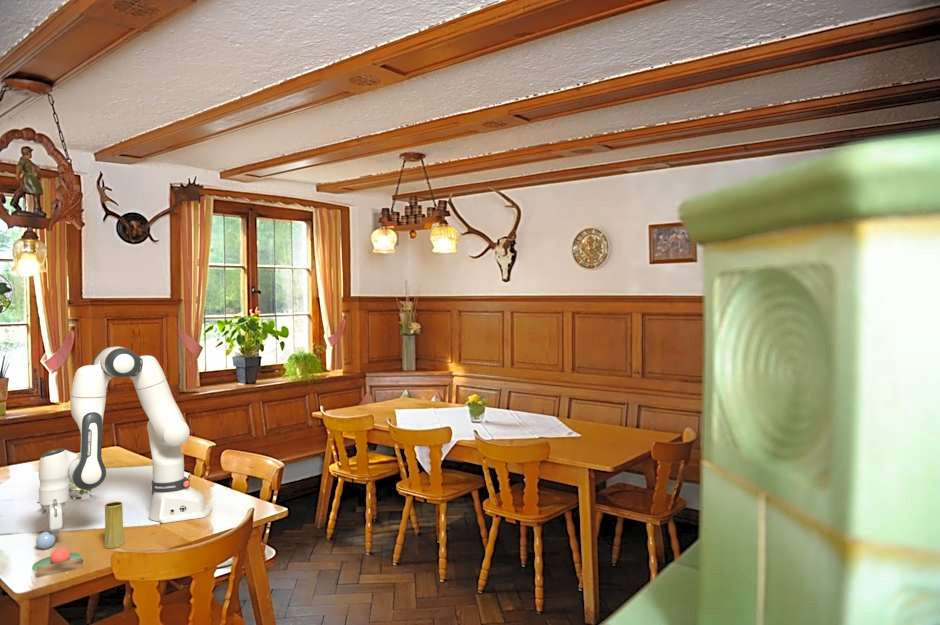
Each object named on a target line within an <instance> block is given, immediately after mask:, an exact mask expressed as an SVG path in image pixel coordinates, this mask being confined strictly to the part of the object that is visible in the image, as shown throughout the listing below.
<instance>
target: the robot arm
mask: <svg viewBox="0 0 940 625" xmlns="http://www.w3.org/2000/svg"><path fill="white" fill-rule="evenodd" d="M113 378H130V379H131V381H132V383H133V385H134V389H135V391H136V392H135V393H136V394H137V397H138V400H139V402H140V405H141V407H142V409H143V411H144V412H145V414H146V416H147V417H148V419H149V420H148V421H147V424H146V429H147V433H148V439H149V440H148V441H149V448H150V452H151V453H150V454H151V459H152V480H151V490H150V491H151V495H152V498H151V499H152V500H151V506H150V511H149V515H148V519H149V520H151V521H153V522H154V521H155V522H158V523H160V524H164V523H173V522H180V521H188V520H197V519H202V518H203V519H204V518H205V517H207V516H209V515H210V514H211V513H212V511H213V507H212V505H211V504H209V503H208V504H207V503H206V499H205V496H204V494H203V493H202V492H200V491H199V490H197V489H195V488H194V487H192V486H191V478H190V477H187V476H185V459H184V458H185V457H184V454H183V450H182V445H183V444H185V443H186V442H187V441H188V439H189V437H190V431H191V430H190V427H189V425H188V423H187V422H186V420H185V418H184V416H183V414H182V412H181V410H180V407H179V406H178V404H177V402H176V400H175V398H174V395H173V394H172V390H171V388H170V385H169V383H168V380H167V377H166V375H165V372H164V370H163V368H162V367H161V364H160V363H159V361H158V360H157V358H156V357H155V356H153V355H150V354H149V355H140V356H139V355H138V354H136V353H135V352H134V351H132V350H131V349H129V348H126V347H123V346H107V347H105V348H103V349H101V350H100V351H99V352H98V354H97V355H96V356H95V357H94V359H93V360H92V362H91V363H90V364H88V365H86V364H85V365H82V366H81V367H79V368H77V370H76V371H75V373H74V377H73V380H72V385H71V390H70V401H69V403H70V406H69V407H70V413H71V414H70V415H71V417H72V418H73V420H74V421H75V422H76V424H77V426H78V429H79V432H80V450H79V451H80V453H76V452H72V451H70V450H68V449H65V448H55V449H51V450H47V451H46V452H44V453H43V454H42V455H41V457H40V458H39V465H38V480H39V483H40V484H39V487H38V502H39V503H38V504H39V505H40V504H41V505H44V508H45V509H46V511H47V512H46V516H47V522H48V526H49V532H52V533H53V534H54V535H55V538H57V537H59V530H62V529H63V526H64V525H63V524H64V523H63V508H62V507H64V506H65V505H66V502H67V501H69V500H70V484H74V485H75V486H76V487H77V488H78V489H81V490H84V491H85V490H86V491H91V490H93V489H95V488H97V487H99V486H100V485H101V484H102V483H103V482H104V481H105V479H106V477H107V469H106V466H105V464H104V461H103V458H102V446H103V445H102V443H103V442H102V441H103V422H104V415H105V409H106V401H107V388H108V384H109V382H110V381H111V380H112V379H113ZM41 505H40V506H41Z"/></svg>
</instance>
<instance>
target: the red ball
mask: <svg viewBox="0 0 940 625" xmlns="http://www.w3.org/2000/svg"><path fill="white" fill-rule="evenodd" d="M70 553H71V552H70V550H69V549H67V548H65V547H59V548H57V549H55V550H53V552H52V553H51V554H50V556H49V557H50V562H51V564H54V563H59V562H64V561H68V560H70Z"/></svg>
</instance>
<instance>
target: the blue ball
mask: <svg viewBox="0 0 940 625" xmlns="http://www.w3.org/2000/svg"><path fill="white" fill-rule="evenodd" d="M55 542H56V537H55V535H54V534H53V533H52V531H43V532H41V533H40V534H38V536H37V537H36V540H35V545H36V546H37V547H38V549H41V550H45V549H50V548H51V547H52V546H54V544H55Z"/></svg>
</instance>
